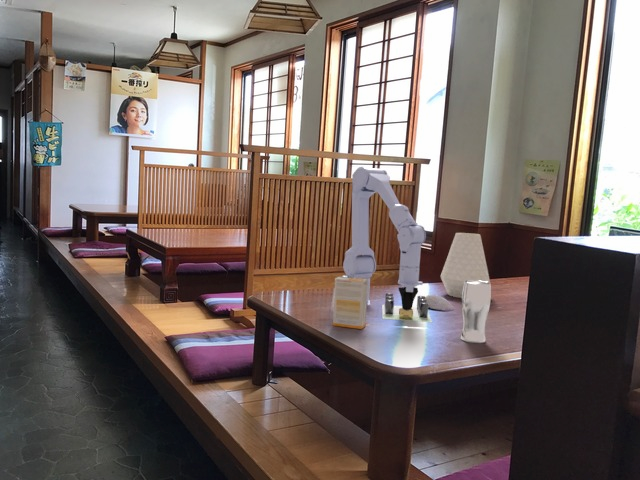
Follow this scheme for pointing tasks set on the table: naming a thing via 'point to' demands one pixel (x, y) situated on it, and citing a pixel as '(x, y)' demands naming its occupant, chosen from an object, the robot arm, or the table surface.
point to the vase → (464, 263)
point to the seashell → (438, 303)
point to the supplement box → (350, 302)
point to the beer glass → (475, 310)
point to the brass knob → (406, 313)
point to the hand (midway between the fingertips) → (406, 312)
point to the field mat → (396, 317)
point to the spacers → (421, 304)
